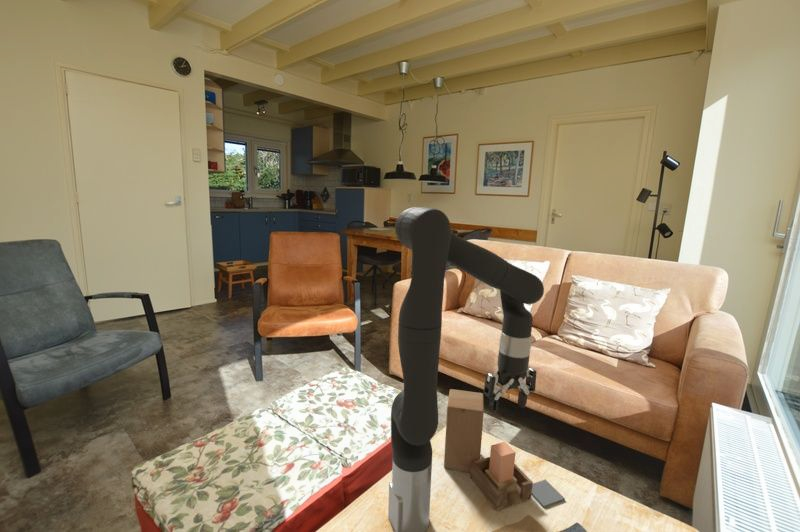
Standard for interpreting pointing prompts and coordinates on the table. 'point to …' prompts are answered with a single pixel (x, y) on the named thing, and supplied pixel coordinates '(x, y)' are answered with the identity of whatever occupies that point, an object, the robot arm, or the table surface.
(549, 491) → the pad
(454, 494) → the table surface
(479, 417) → the wooden block
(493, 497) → the crate
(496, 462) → the block
